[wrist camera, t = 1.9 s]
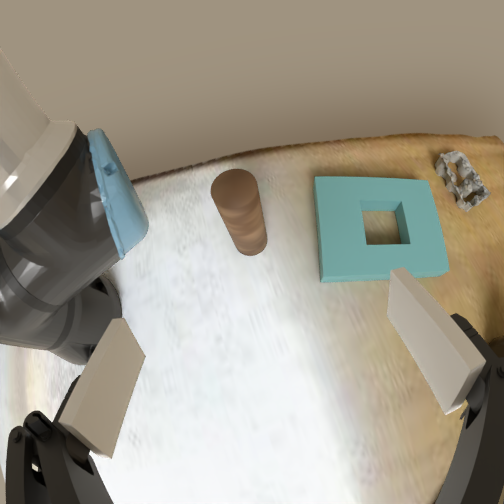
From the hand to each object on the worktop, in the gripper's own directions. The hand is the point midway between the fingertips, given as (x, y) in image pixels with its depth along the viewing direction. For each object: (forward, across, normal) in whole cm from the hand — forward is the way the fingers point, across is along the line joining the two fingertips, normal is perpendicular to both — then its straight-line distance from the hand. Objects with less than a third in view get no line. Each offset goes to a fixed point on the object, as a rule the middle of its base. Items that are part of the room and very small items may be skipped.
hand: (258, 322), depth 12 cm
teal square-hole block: (+23, +17, -7) cm, 30 cm away
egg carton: (+28, +36, -4) cm, 46 cm away
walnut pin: (+25, -1, -6) cm, 25 cm away
